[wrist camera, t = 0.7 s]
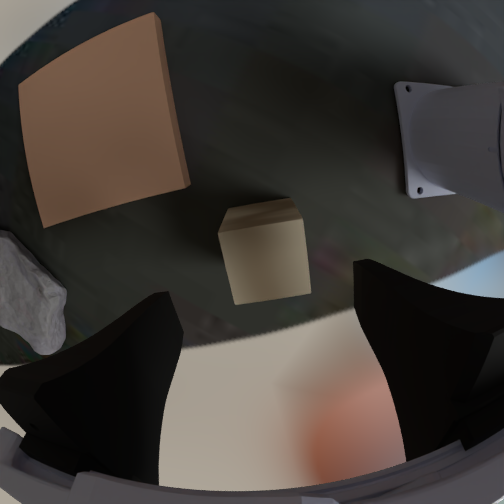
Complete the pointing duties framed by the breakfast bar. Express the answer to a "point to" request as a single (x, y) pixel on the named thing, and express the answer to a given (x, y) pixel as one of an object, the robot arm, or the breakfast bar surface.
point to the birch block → (265, 251)
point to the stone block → (30, 297)
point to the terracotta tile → (103, 124)
